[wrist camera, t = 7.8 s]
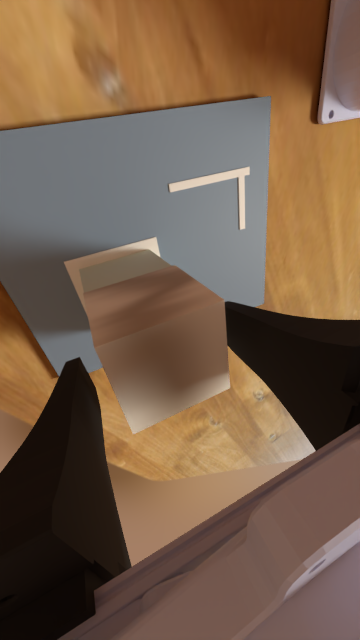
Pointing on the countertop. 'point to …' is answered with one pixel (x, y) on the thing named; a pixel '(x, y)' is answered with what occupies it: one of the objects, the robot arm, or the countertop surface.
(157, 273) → the cream block
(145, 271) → the sage block
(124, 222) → the board
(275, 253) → the countertop surface
